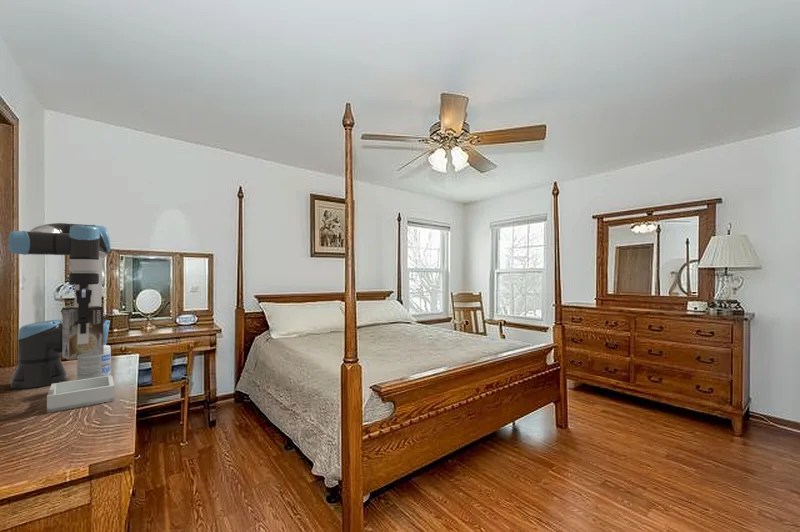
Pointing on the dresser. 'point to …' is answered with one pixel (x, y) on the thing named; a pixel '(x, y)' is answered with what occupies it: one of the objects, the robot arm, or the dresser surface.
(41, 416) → the dresser surface
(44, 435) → the dresser surface
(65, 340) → the coffee box
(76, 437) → the dresser surface
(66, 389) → the tote
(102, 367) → the supplement tub
